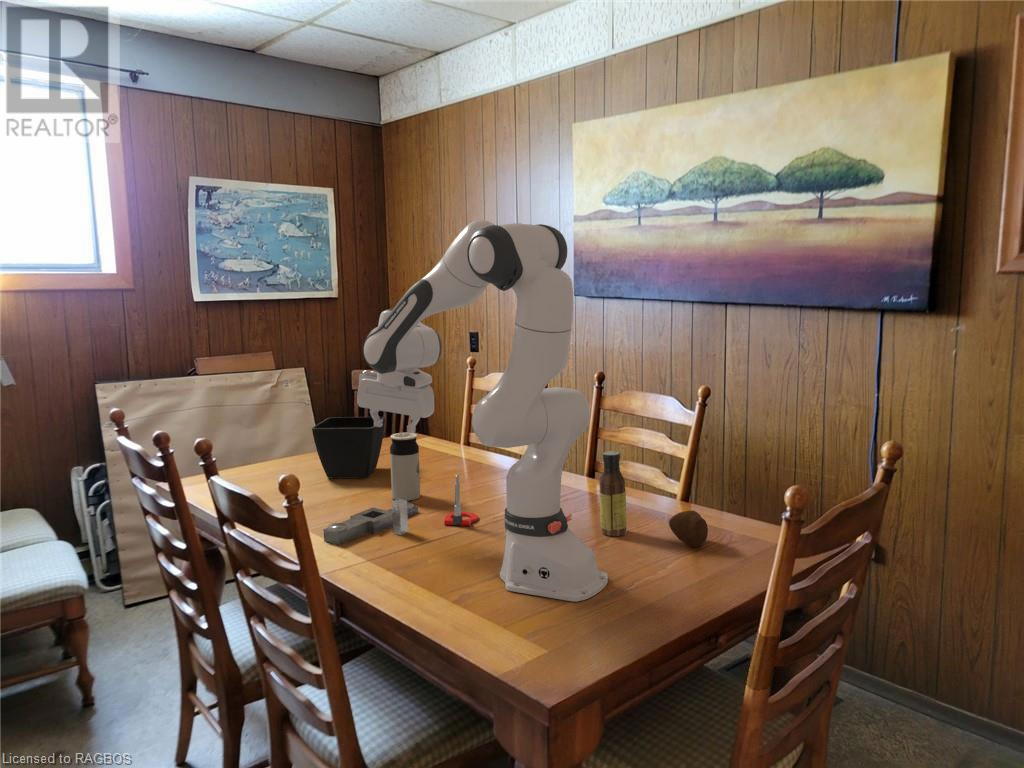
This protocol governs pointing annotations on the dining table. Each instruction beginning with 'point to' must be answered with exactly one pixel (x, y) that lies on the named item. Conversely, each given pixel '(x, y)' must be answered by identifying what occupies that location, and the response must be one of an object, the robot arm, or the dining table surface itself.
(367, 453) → the flower pot
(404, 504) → the pin
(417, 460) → the travel mug
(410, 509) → the chain end
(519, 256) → the robot arm
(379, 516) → the bar
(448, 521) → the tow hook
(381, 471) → the dining table surface
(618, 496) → the sauce bottle
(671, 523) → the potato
